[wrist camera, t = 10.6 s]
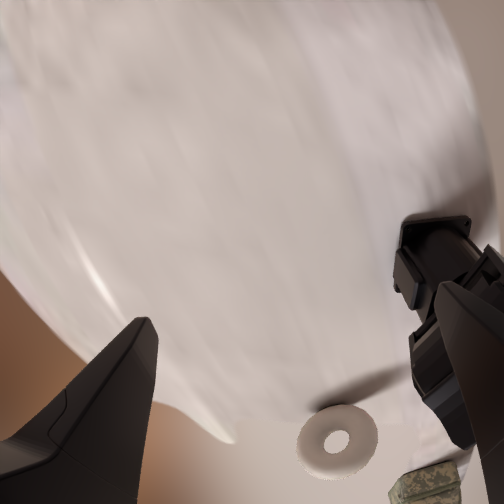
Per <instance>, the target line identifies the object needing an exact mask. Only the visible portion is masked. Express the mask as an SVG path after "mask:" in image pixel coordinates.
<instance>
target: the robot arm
mask: <svg viewBox="0 0 504 504" xmlns="http://www.w3.org/2000/svg"><path fill="white" fill-rule="evenodd" d="M466 221H467V222H466ZM465 222H466V223H465ZM464 223H465V224H464ZM408 227H410V228H409V229H408V230H406V228H408ZM470 228H471V219H470V218H469V217H468V216H457V217H447V218H437V219H427V220H417V221H407V222H405V223H403V224H402V226H401V231H400V240H399V248H398V249H397V251H396V256H395V264H394V272H393V278H394V289H395V291H396V292H397V293H402V295H403V297H404V299H405V301H406V303H407V305H408V307H409V309H410V310H416V311H417V313H418V315H419V318H420V320H421V322H422V325H421V326H420V327H419V328H418V330H417V331H416V332H413V333H412V334H411V335H410V336H409V347H410V358H411V371H412V379H413V384H414V387H415V388H416V390H417V392H418V393H419V395H420V396H421V397H422V401H423V402H424V403H425V404H426V405H427V406H428V407H429V408H430V409H431V410H432V411H433V412H434V413H435V414H436V416H437V417H438V418H439V419H440V421H441V423H442V424H443V426H444V428H445V429H446V431H447V433H448V435H449V437H450V439H451V441H452V442H453V443H454V444H455V445H457V446H458V447H460V448H461V449H463V450H468V449H470V448H471V447H473V446H474V445H476V444H477V447H478V451H479V455H480V459H481V465H482V469H483V474H484V479H485V484H486V489H487V495H488V500H489V504H504V257H503V256H502V255H501V254H499V253H498V252H497V251H496V250H495V249H494V248H493V247H491V246H490V245H489V244H488V245H487V246H486V247H485V249H484V252H483V253H482V252H481V251H480V250H479V248H478V247H477V246H476V245H475V244H474V243H473V242H472V241H471V240H470V238H469V233H470ZM398 287H399V288H398ZM158 342H159V340H158V335H157V332H156V330H155V328H154V326H153V324H152V322H151V320H150V319H149V318H148V317H136V318H135V319H134V320H133V321H132V322H131V323H130V324H128V325H127V326H126V327H125V328H124V329H123V330H122V331H121V332H120V333H119V334H118V335H117V336H116V337H115V338H114V339H113V340H112V341H111V342H110V343H109V344H108V345H107V346H106V347H105V348H104V349H103V350H102V351H101V352H100V353H99V354H98V355H97V356H96V357H95V358H94V359H93V360H92V361H91V362H90V363H89V364H88V365H87V366H86V367H85V368H84V369H83V370H82V371H81V372H80V373H79V374H78V375H77V376H76V377H75V378H74V379H73V380H72V381H71V382H70V383H69V384H68V385H67V386H66V388H64V389H63V390H62V391H61V392H60V393H59V394H58V395H57V396H56V397H55V398H54V399H53V400H52V401H51V402H50V403H49V404H48V405H47V406H46V407H44V408H43V409H42V410H41V411H40V412H39V413H38V414H37V415H36V416H34V417H33V418H32V419H31V420H30V421H29V422H28V423H27V424H25V425H24V426H23V427H22V428H21V429H19V430H18V431H17V432H16V433H15V434H14V435H12V436H11V437H9V438H8V439H6V440H3V441H0V504H137V497H138V489H139V481H140V474H141V466H142V459H143V453H144V446H145V440H146V433H147V427H148V421H149V415H150V409H151V404H152V398H153V393H154V387H155V379H156V366H157V354H158Z"/></svg>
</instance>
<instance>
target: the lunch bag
mask: <svg viewBox="0 0 504 504" xmlns="http://www.w3.org/2000/svg"><path fill="white" fill-rule="evenodd" d="M460 485H461V481H460V477H459V474H458V470H457V466H456V464H455V463H454V462H450V461H448V462H444V463H441V464H438V465H434V466H431V467H427V468H424V469H420V470H417V471H413V472H410V473H408V474H405V475H403V476H402V477H400V478H399V479H398V480H397V482H396V483H395V485H394V486H393V487H392V489H391V490H390V491H389V493H388V496H389V499H390V502H391V504H461V489H460Z"/></svg>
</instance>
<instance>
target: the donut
mask: <svg viewBox="0 0 504 504" xmlns="http://www.w3.org/2000/svg"><path fill="white" fill-rule="evenodd" d="M339 430H343V431H346V432H347V433H348V434H349V443H348V445H347V446H346V448H345V449H344V450H342V451H341V452H339V453H335V454H330V453H328V452H326V451H325V449H324V442H325V439H326V438H327V437H328V436H329V435H330V434H331V433H332V432H335V431H339ZM377 443H378V433H377V427H376V425H375V422H374V420H373V418H372V417H371V416H370V415H369V414H368V413H367V412H366V411H364V410H363V409H360V408H358V407H356V406H353V405H343V404H342V405H336V406H330V407H328V408H325V409H323V410H321V411H319V412H317V413H316V414H315V415H314V416H312V417H311V418H310V419H309V420H308V421H307V422H306V424H305V425H304V426H303V428H302V429H301V432H300V434H299V436H298V439H297V447H296V452H297V456H298V461H299V462H300V464H301V465H302V466H303V468H304V469H305V470H306V472H308V473H310V474H311V475H313V476H314V477H316V478H321V479H325V480H338V479H344V478H345V477H348V476H351V475H353V474H355V473H357V472H358V471H359V470H361V469H362V468H363V467H364V466H366V464H367V463H368V462H369V460H370V459H371V457H372V456H373V454H374V452H375V449H376V446H377Z"/></svg>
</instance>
